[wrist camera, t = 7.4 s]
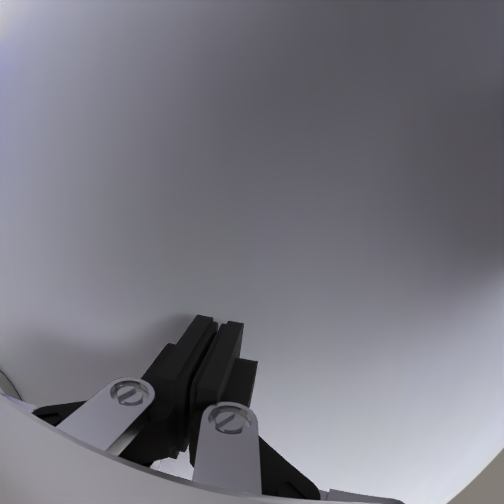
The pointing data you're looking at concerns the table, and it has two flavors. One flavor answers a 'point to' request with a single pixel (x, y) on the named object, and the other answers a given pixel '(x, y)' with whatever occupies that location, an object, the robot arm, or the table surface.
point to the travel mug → (7, 387)
